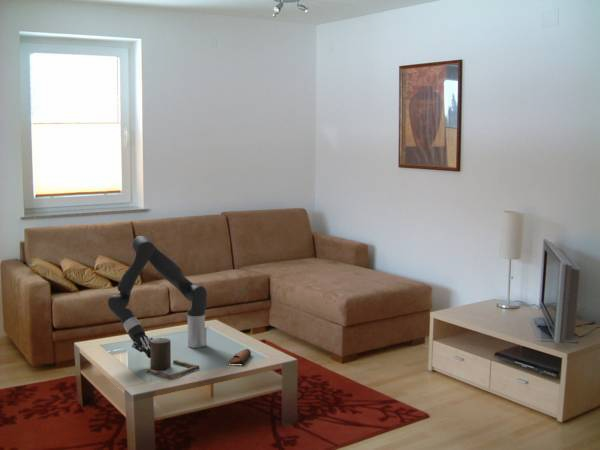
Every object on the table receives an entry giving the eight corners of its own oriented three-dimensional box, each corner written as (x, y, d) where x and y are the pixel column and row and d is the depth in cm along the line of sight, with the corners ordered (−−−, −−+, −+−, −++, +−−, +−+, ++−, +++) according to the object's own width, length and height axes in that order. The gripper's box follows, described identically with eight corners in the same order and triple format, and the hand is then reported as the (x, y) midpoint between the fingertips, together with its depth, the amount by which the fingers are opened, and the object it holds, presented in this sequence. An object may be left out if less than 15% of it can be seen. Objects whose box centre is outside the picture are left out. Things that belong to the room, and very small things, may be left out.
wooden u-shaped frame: (147, 372, 340) (147, 369, 339) (175, 362, 355) (175, 359, 355) (171, 379, 331) (171, 376, 331) (199, 368, 346) (199, 365, 346)
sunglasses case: (235, 354, 370) (241, 343, 368) (246, 361, 369) (252, 351, 368) (226, 365, 352) (232, 354, 351) (238, 372, 352) (244, 361, 350)
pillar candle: (164, 371, 341) (164, 341, 340) (146, 369, 344) (146, 339, 342) (174, 365, 350) (174, 336, 349) (156, 363, 353) (156, 334, 352)
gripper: (140, 330, 362) (157, 358, 356) (120, 335, 351) (137, 364, 345) (147, 321, 358) (165, 349, 352) (127, 326, 347) (144, 355, 342)
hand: (151, 357), depth 349 cm, fingers closed
